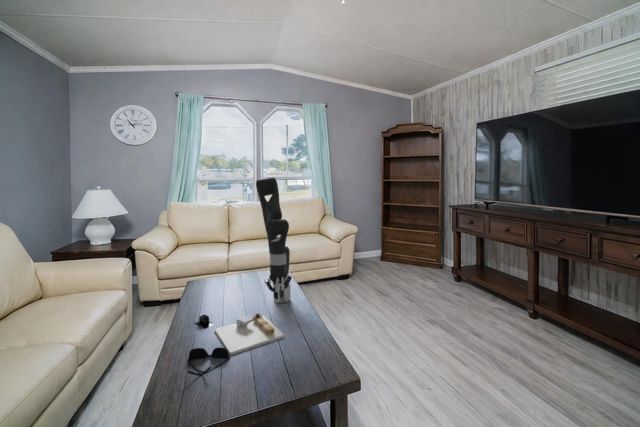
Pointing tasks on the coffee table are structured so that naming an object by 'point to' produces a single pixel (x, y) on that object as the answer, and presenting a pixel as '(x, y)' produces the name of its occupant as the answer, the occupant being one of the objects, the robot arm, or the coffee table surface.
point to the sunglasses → (202, 353)
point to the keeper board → (245, 335)
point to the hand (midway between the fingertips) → (278, 298)
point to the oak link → (263, 324)
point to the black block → (204, 321)
